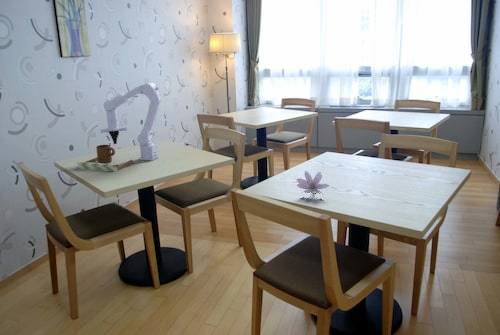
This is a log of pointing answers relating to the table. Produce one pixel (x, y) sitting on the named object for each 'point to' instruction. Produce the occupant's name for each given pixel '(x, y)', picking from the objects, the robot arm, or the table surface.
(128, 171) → the table surface
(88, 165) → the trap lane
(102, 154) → the mug
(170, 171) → the table surface
